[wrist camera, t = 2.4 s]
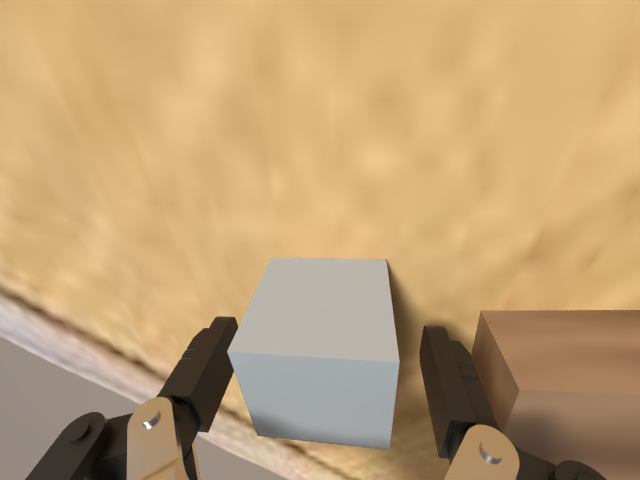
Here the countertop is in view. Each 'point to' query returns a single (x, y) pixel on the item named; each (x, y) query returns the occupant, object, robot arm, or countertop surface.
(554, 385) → the walnut base
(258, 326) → the slate cube
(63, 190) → the countertop surface
